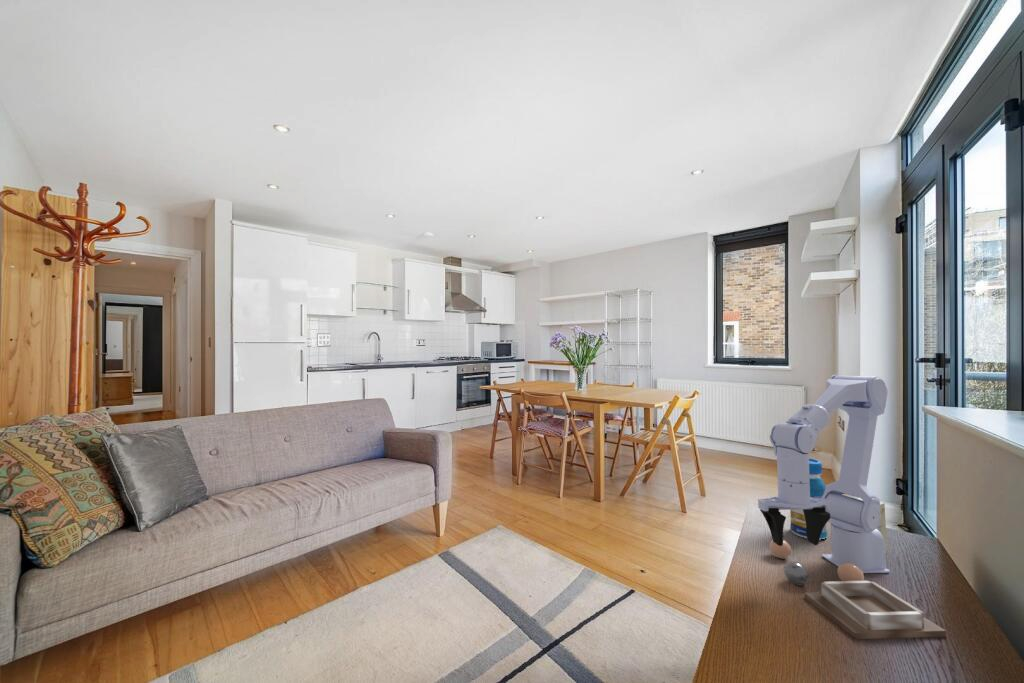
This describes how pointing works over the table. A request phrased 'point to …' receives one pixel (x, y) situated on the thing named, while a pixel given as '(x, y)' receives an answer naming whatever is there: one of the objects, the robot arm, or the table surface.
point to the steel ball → (796, 573)
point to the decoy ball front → (780, 549)
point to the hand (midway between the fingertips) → (795, 543)
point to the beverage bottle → (815, 492)
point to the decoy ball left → (850, 572)
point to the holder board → (871, 611)
